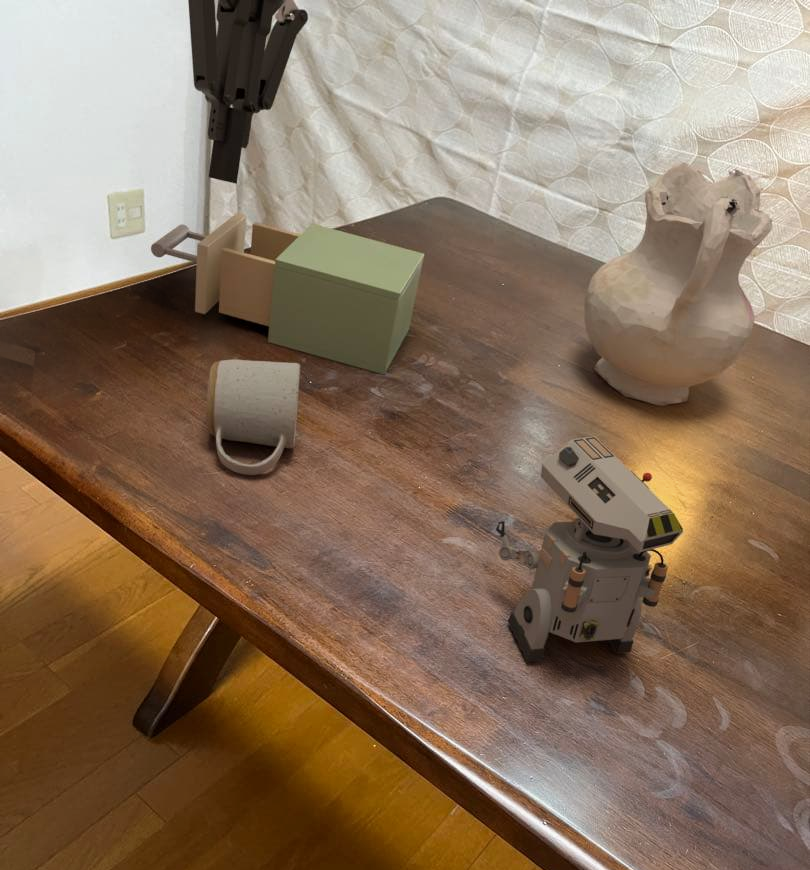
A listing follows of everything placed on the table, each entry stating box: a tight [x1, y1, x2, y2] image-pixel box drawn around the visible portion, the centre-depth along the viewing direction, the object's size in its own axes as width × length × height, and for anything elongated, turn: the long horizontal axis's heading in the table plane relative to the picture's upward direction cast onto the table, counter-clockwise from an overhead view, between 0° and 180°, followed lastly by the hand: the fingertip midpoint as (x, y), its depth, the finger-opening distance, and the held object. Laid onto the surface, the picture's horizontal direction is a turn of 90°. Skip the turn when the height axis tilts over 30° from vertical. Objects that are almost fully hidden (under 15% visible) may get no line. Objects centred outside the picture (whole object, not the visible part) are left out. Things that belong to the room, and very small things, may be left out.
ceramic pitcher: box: [583, 161, 773, 407], centre depth 98 cm, size 22×20×25 cm
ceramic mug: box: [205, 359, 301, 476], centre depth 78 cm, size 11×8×8 cm
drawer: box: [150, 212, 302, 327], centre depth 98 cm, size 19×11×8 cm, turn 77°
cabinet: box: [267, 223, 425, 375], centre depth 98 cm, size 14×13×10 cm
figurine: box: [495, 435, 684, 662], centre depth 64 cm, size 9×12×15 cm
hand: (222, 180), depth 85 cm, fingers closed
